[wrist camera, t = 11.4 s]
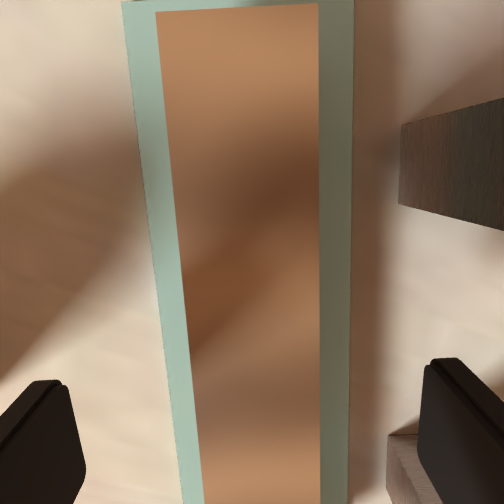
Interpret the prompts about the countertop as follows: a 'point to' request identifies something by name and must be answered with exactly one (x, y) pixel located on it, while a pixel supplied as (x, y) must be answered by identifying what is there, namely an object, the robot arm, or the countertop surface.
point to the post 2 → (456, 164)
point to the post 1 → (407, 473)
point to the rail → (249, 241)
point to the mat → (330, 228)
